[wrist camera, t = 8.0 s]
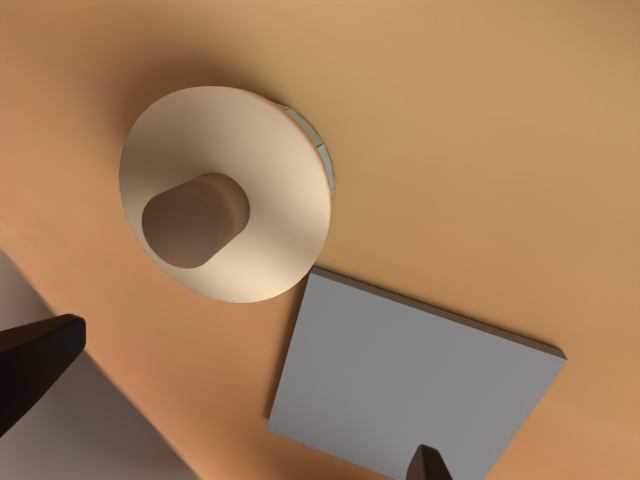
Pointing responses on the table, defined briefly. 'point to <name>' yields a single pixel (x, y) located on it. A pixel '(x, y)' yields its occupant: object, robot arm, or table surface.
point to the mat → (404, 381)
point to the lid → (225, 193)
